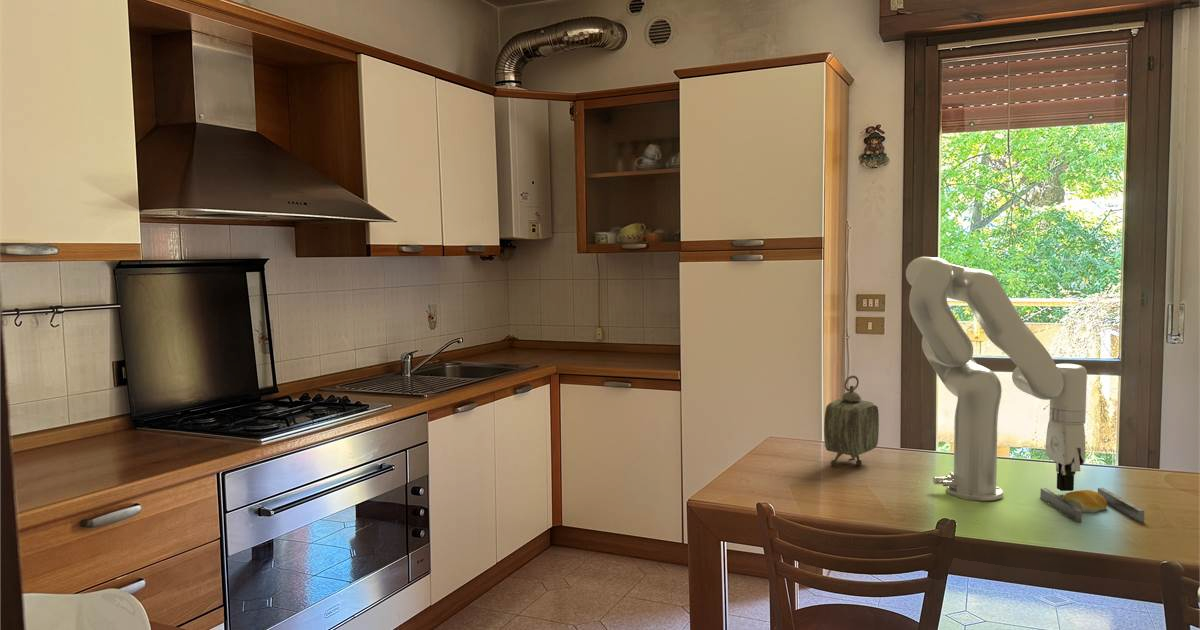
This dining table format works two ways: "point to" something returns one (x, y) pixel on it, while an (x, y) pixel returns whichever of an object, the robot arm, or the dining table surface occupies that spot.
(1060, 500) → the chute
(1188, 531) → the dining table surface
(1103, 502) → the bread roll
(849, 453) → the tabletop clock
